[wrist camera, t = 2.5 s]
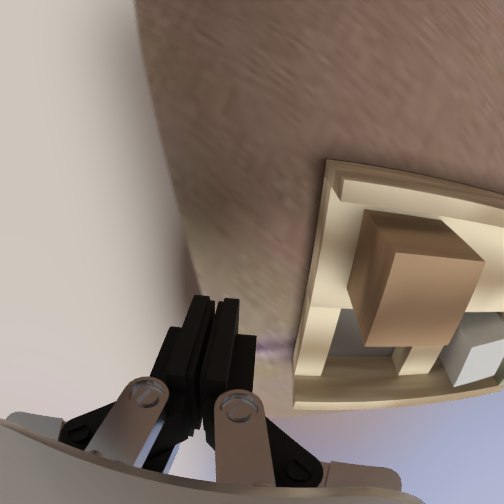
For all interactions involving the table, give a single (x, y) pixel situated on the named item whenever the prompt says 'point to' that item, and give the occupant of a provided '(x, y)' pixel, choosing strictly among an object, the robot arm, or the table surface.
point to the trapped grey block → (474, 348)
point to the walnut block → (410, 280)
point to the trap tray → (340, 308)
